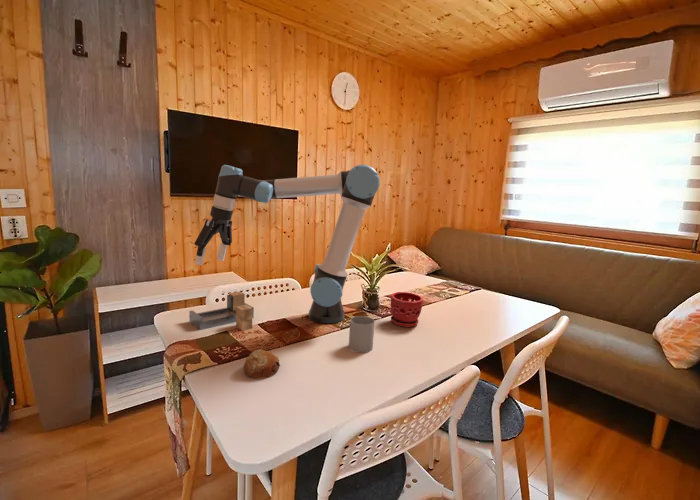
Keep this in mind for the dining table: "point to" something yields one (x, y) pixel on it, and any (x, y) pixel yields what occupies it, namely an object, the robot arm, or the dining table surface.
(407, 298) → the plant pot
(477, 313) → the dining table surface
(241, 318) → the block
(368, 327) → the cup
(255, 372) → the bread roll
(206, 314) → the grey tray
